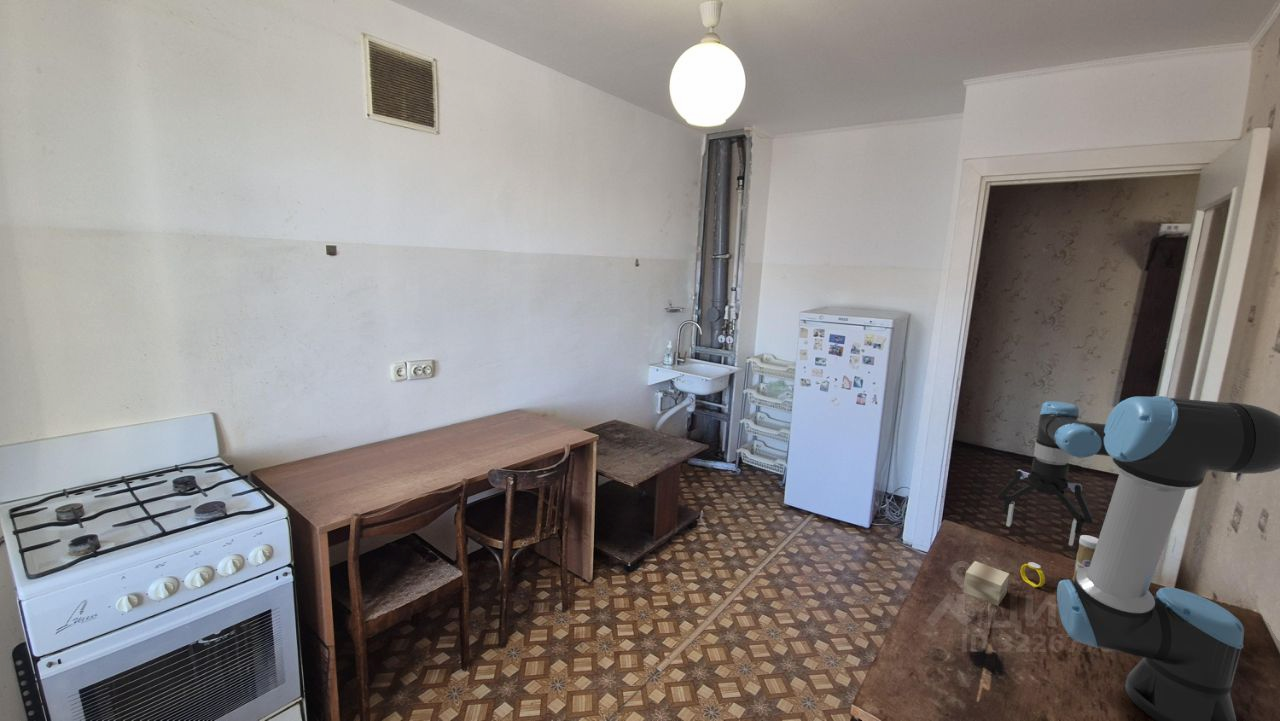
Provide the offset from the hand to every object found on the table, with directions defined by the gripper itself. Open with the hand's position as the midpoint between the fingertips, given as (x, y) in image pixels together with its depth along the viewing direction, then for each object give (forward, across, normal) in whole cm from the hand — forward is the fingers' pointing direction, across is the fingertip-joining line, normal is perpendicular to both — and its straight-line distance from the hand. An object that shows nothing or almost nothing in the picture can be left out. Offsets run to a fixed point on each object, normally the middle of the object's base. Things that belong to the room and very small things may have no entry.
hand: (1038, 533), depth 140 cm
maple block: (+15, +8, +14) cm, 22 cm away
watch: (+15, 0, 0) cm, 15 cm away
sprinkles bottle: (+15, -10, -11) cm, 21 cm away
